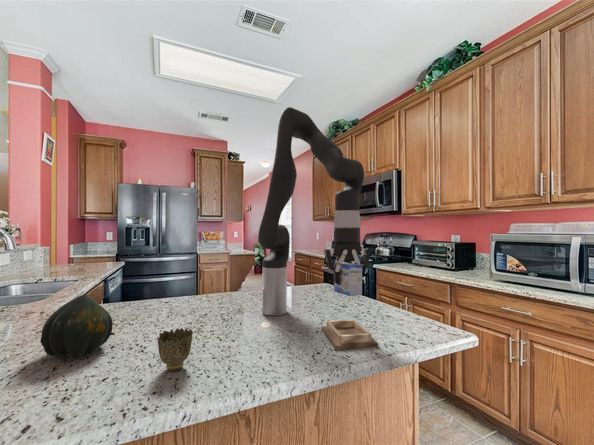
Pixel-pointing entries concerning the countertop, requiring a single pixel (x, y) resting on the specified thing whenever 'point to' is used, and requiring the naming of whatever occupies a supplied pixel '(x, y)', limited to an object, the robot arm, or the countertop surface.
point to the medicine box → (350, 280)
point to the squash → (76, 328)
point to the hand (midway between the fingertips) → (347, 283)
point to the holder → (348, 335)
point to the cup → (174, 347)
